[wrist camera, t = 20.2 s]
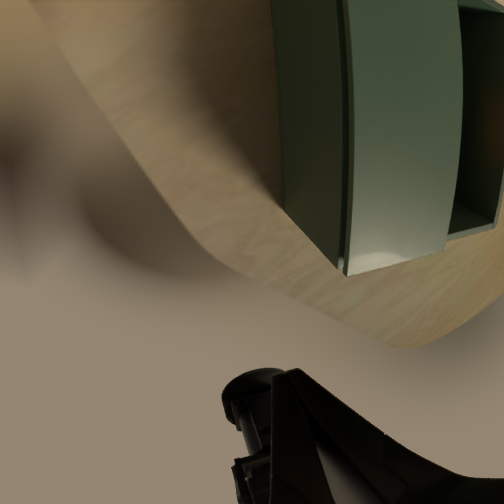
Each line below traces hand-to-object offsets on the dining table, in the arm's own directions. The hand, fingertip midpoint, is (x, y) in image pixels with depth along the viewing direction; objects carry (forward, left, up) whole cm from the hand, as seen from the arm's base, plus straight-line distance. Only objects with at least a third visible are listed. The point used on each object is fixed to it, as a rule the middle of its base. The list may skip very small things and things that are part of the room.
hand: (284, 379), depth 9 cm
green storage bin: (+7, -11, -13) cm, 18 cm away
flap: (+7, -8, -5) cm, 12 cm away
